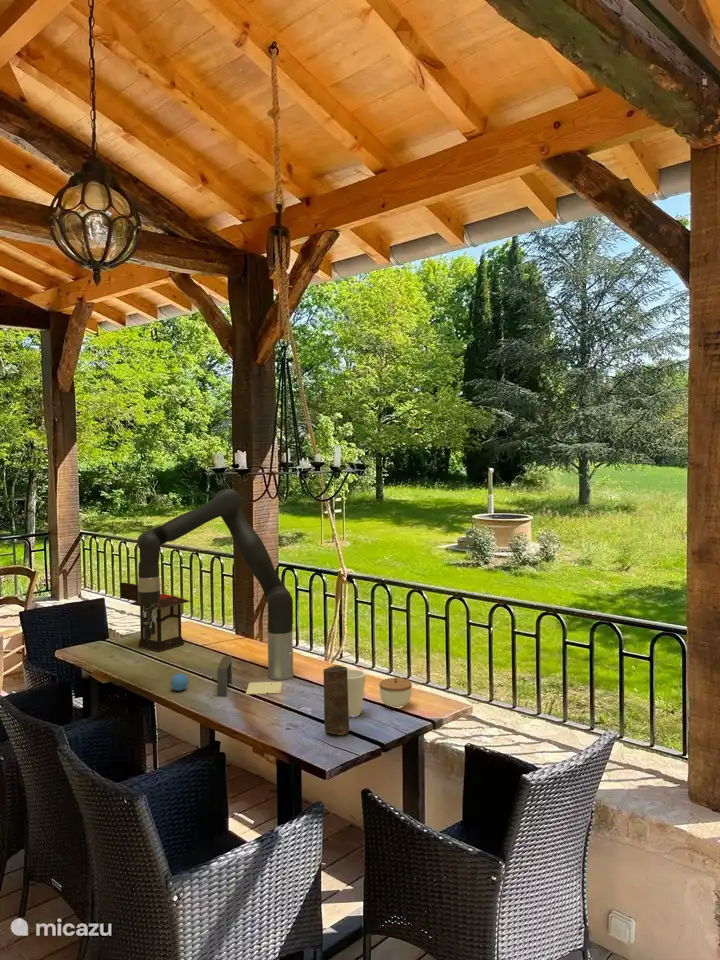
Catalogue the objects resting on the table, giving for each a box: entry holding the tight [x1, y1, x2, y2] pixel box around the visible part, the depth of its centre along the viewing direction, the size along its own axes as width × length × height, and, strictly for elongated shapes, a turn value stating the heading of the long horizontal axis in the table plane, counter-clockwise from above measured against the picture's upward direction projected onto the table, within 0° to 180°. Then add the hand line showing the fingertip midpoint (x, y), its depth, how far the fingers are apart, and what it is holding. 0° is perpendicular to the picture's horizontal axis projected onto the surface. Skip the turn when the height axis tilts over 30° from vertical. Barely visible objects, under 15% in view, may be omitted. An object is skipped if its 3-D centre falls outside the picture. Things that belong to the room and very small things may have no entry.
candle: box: [323, 664, 350, 736], centre depth 212 cm, size 8×7×20 cm
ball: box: [170, 672, 189, 692], centre depth 252 cm, size 6×6×6 cm
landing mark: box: [245, 681, 283, 695], centre depth 253 cm, size 12×12×1 cm
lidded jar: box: [378, 677, 413, 707], centre depth 234 cm, size 11×11×9 cm
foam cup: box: [347, 668, 366, 715], centre depth 228 cm, size 10×9×13 cm
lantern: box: [119, 582, 191, 653], centre depth 306 cm, size 18×26×30 cm
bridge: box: [216, 655, 233, 697], centre depth 252 cm, size 3×15×10 cm, turn 3°
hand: (150, 636), depth 250 cm, fingers open, 5 cm apart
